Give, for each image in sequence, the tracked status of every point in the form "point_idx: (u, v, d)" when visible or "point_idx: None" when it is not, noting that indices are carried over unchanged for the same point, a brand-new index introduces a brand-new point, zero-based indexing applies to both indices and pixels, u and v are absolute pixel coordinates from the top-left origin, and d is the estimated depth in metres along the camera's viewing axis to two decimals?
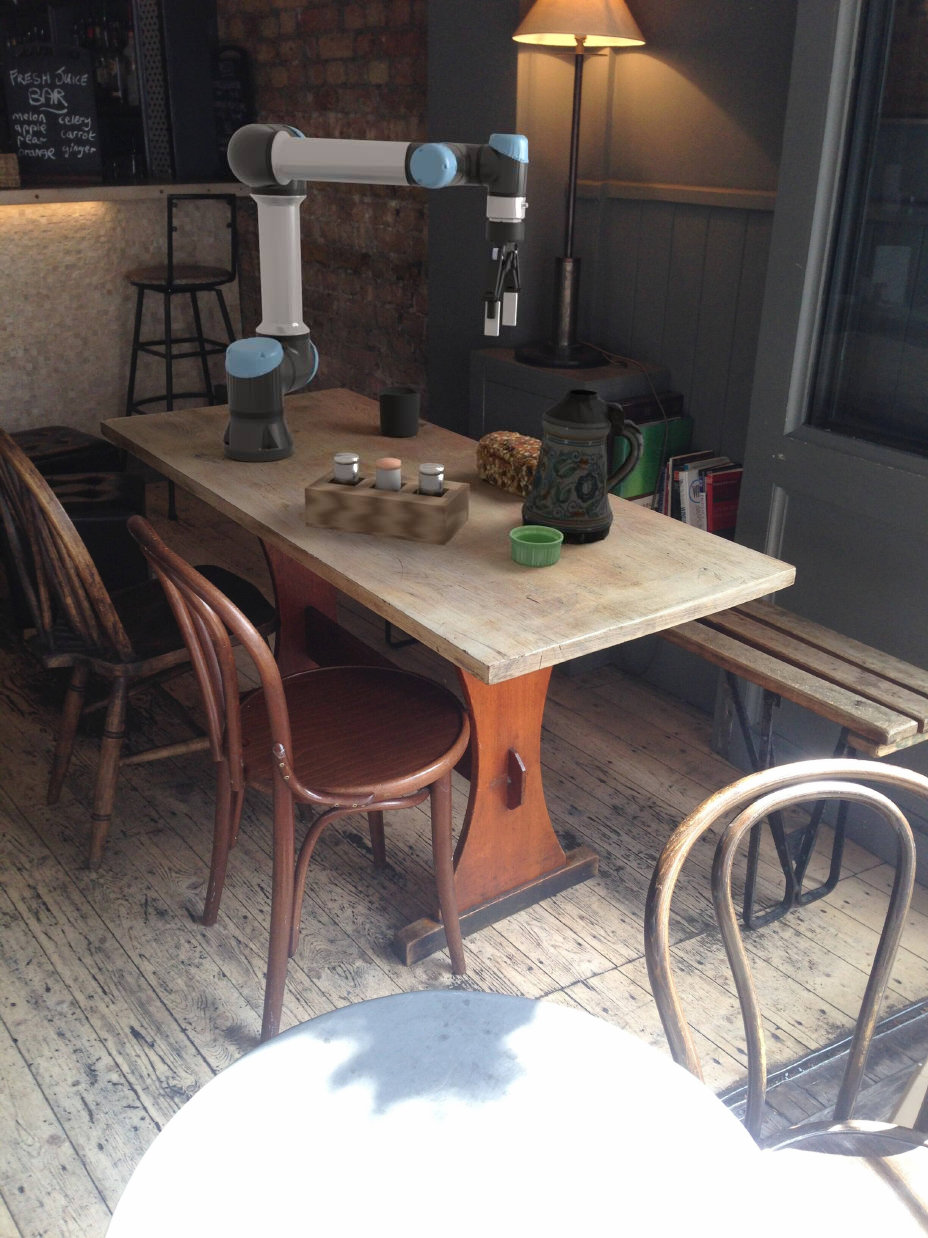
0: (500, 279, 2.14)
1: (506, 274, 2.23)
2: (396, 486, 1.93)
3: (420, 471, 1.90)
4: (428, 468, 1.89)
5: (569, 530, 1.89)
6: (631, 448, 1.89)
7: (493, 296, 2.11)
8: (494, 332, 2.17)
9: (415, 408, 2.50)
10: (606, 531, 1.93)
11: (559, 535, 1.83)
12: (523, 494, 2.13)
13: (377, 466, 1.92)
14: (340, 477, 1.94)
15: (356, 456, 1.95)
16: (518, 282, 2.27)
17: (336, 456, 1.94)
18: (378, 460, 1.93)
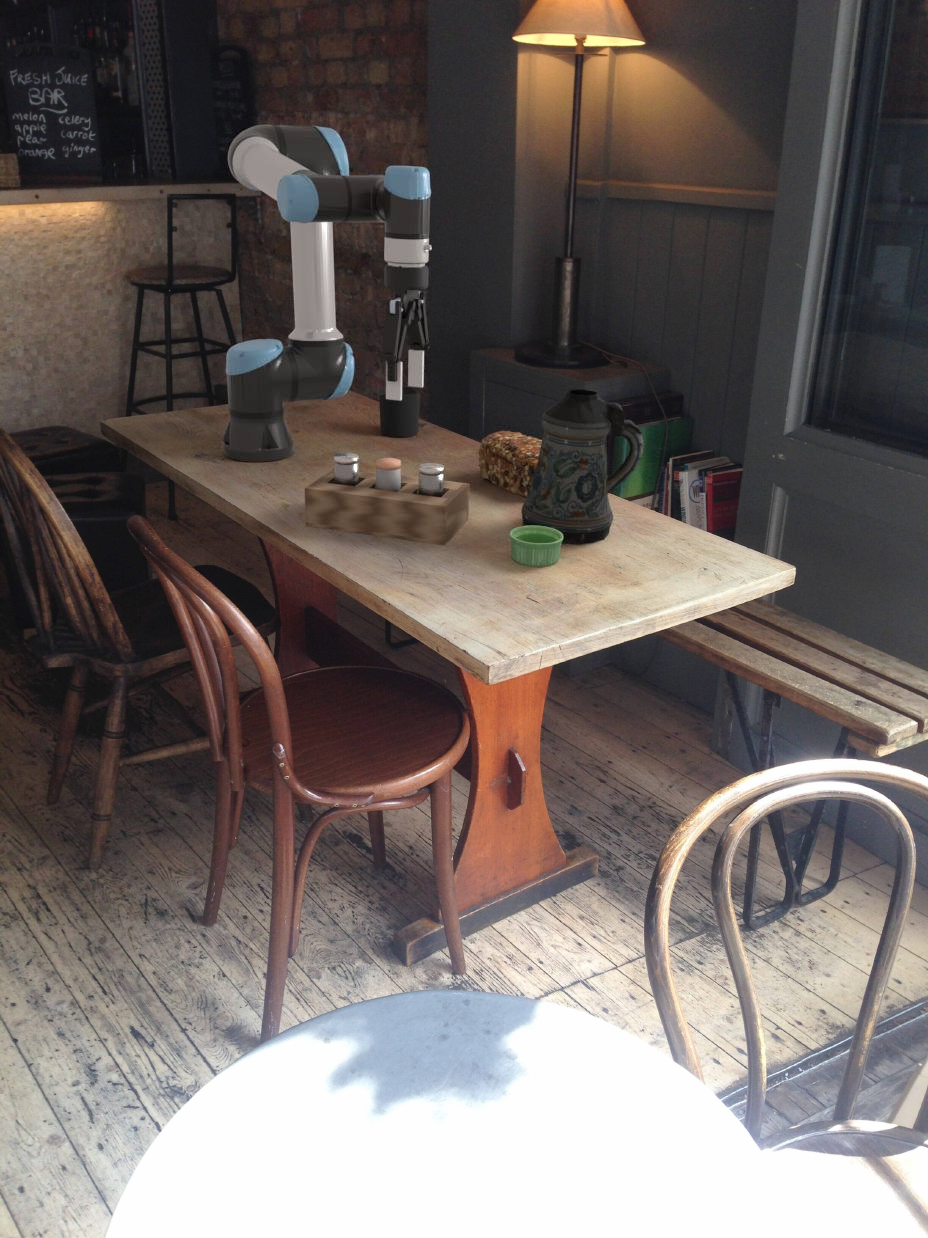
0: (401, 335, 1.86)
1: (410, 327, 1.94)
2: (396, 486, 1.93)
3: (420, 471, 1.90)
4: (428, 468, 1.89)
5: (569, 530, 1.89)
6: (631, 448, 1.89)
7: (392, 357, 1.84)
8: (397, 396, 1.90)
9: (415, 408, 2.50)
10: (606, 531, 1.93)
11: (559, 535, 1.83)
12: (525, 494, 2.13)
13: (377, 466, 1.92)
14: (340, 477, 1.94)
15: (356, 456, 1.95)
16: (425, 337, 1.98)
17: (336, 456, 1.94)
18: (378, 460, 1.93)
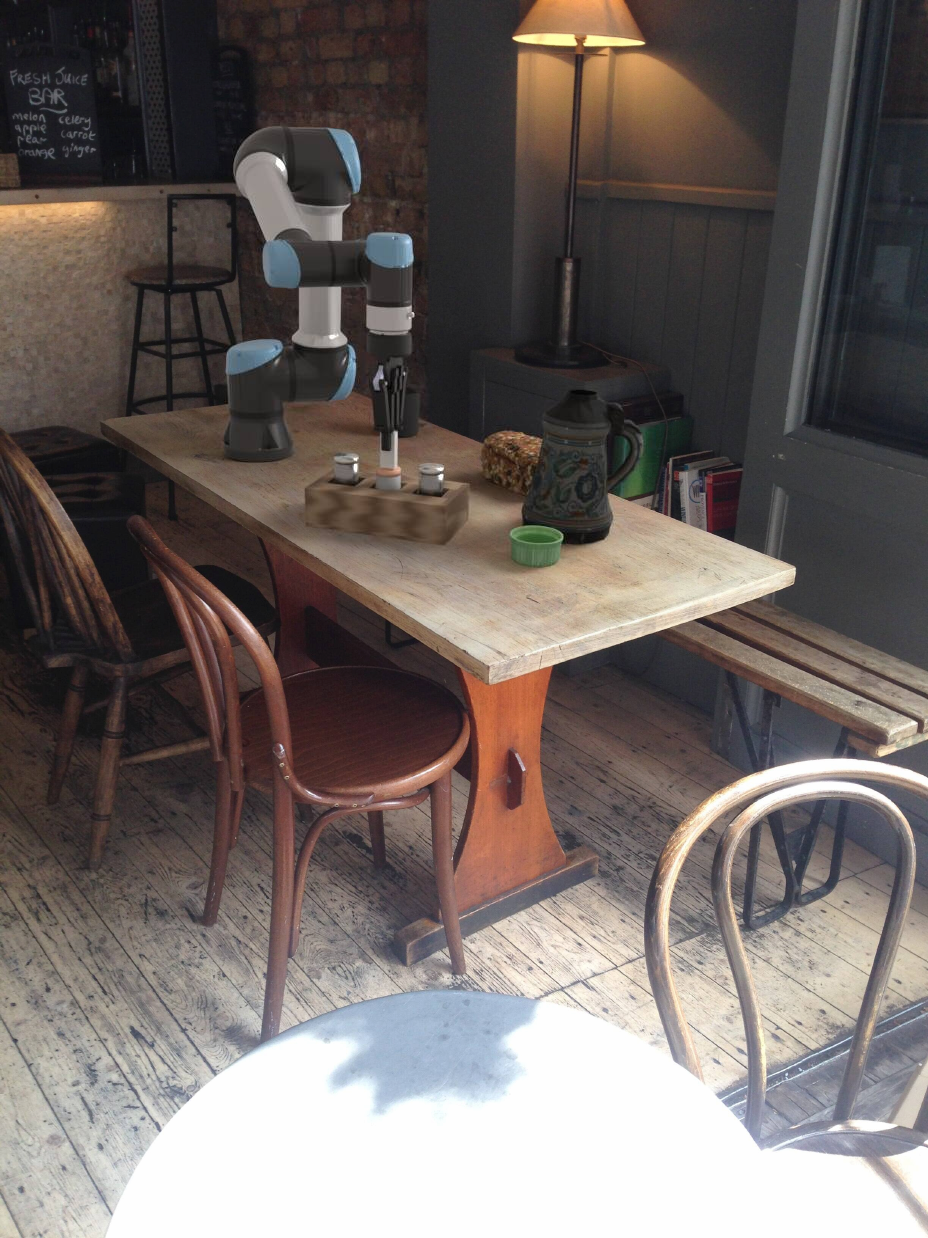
0: (390, 407, 1.86)
1: None
2: None
3: (420, 471, 1.90)
4: (428, 468, 1.89)
5: (569, 530, 1.89)
6: (631, 448, 1.89)
7: (386, 430, 1.86)
8: (390, 465, 1.92)
9: (415, 408, 2.50)
10: (606, 531, 1.93)
11: (559, 535, 1.83)
12: None
13: (377, 473, 1.92)
14: (340, 477, 1.94)
15: (356, 456, 1.95)
16: (400, 414, 1.91)
17: (336, 456, 1.94)
18: (378, 467, 1.93)
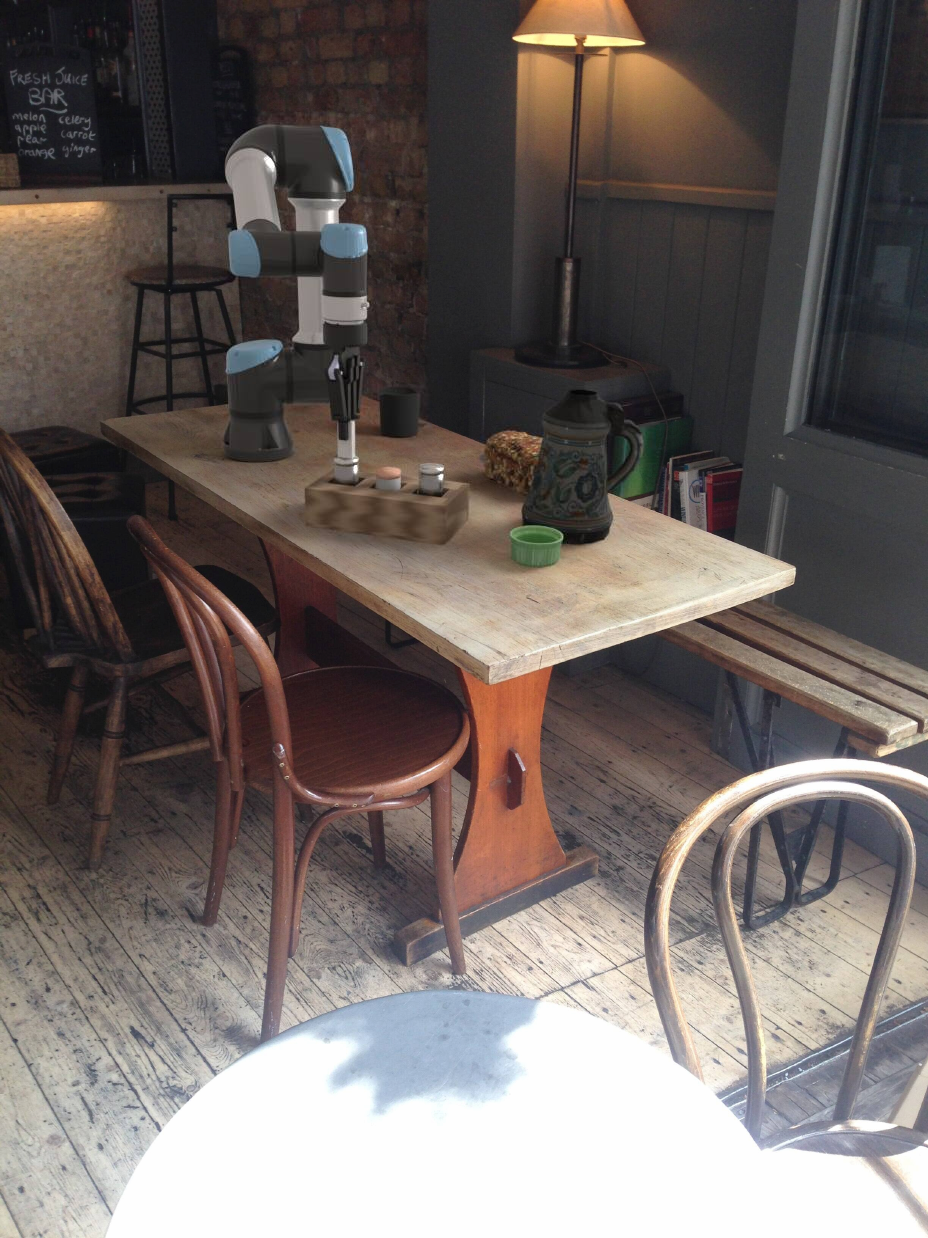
0: (347, 396, 1.88)
1: None
2: None
3: (420, 471, 1.90)
4: (428, 468, 1.89)
5: (569, 530, 1.89)
6: (631, 448, 1.89)
7: (343, 419, 1.88)
8: (348, 454, 1.93)
9: (415, 408, 2.50)
10: (606, 531, 1.93)
11: (559, 535, 1.83)
12: None
13: (377, 475, 1.92)
14: (340, 478, 1.94)
15: (356, 458, 1.95)
16: (357, 403, 1.93)
17: (336, 458, 1.94)
18: (378, 469, 1.93)
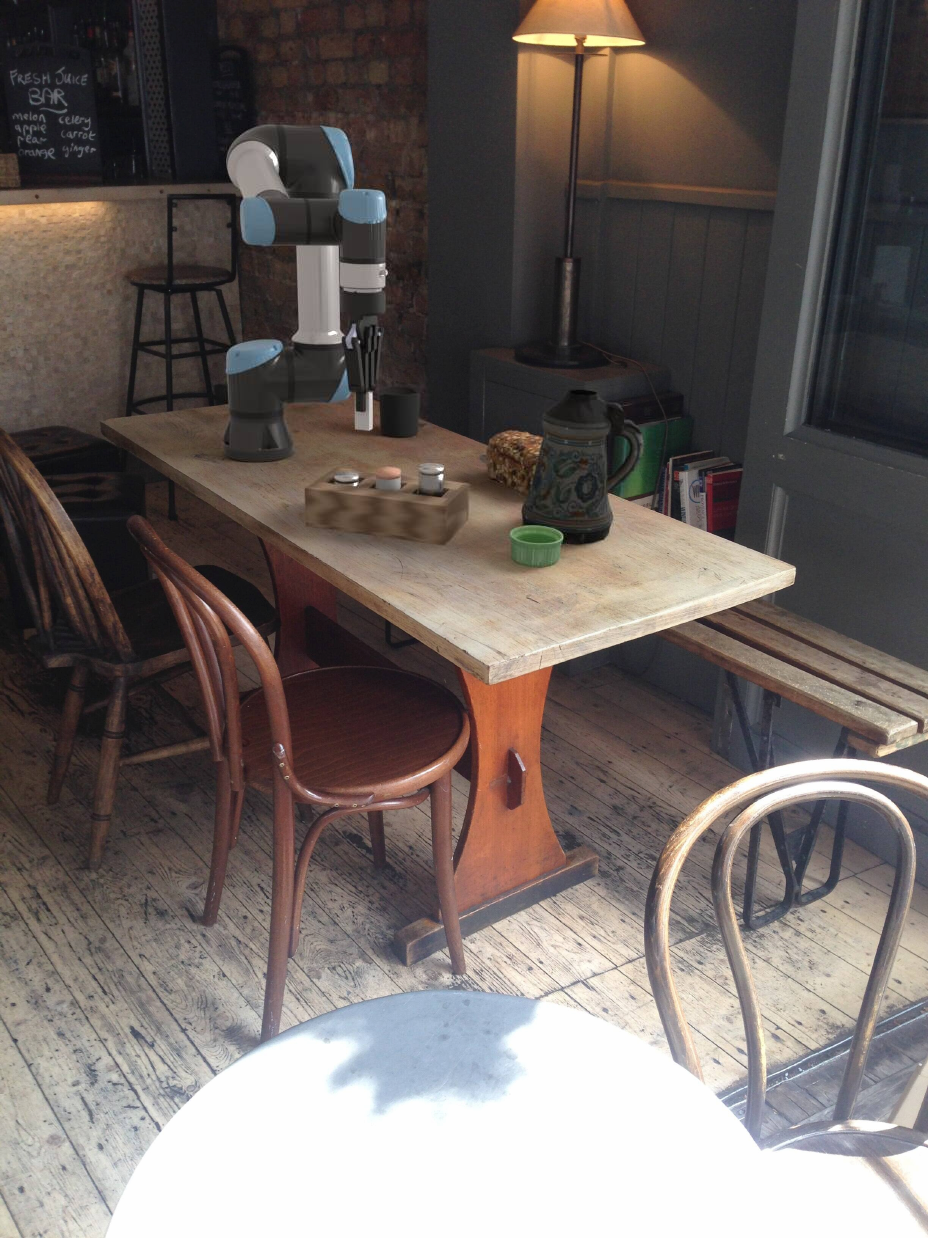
0: (364, 366, 1.85)
1: None
2: None
3: (420, 471, 1.90)
4: (428, 468, 1.89)
5: (569, 530, 1.89)
6: (631, 448, 1.89)
7: (360, 390, 1.85)
8: (365, 426, 1.90)
9: (415, 408, 2.50)
10: (606, 531, 1.93)
11: (559, 535, 1.83)
12: None
13: (377, 475, 1.92)
14: None
15: (356, 475, 1.96)
16: (375, 375, 1.90)
17: (336, 475, 1.96)
18: (378, 469, 1.93)
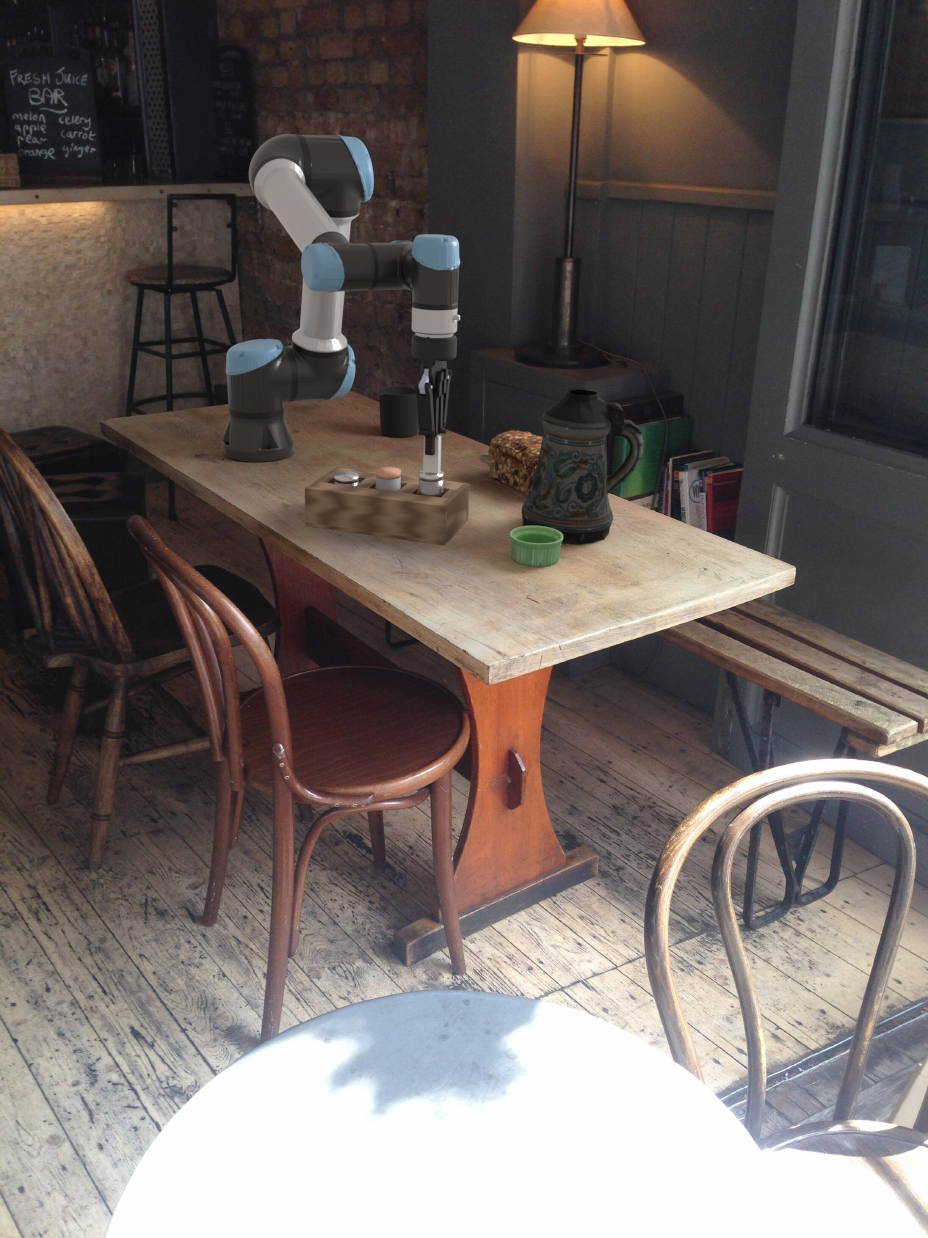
0: (435, 410, 1.84)
1: None
2: None
3: (420, 477, 1.90)
4: (428, 474, 1.90)
5: (569, 530, 1.89)
6: (631, 448, 1.89)
7: (431, 434, 1.84)
8: (434, 469, 1.90)
9: (415, 408, 2.50)
10: (606, 531, 1.93)
11: (559, 535, 1.83)
12: None
13: (377, 475, 1.92)
14: None
15: (356, 475, 1.96)
16: (444, 417, 1.89)
17: (336, 475, 1.96)
18: (378, 469, 1.93)
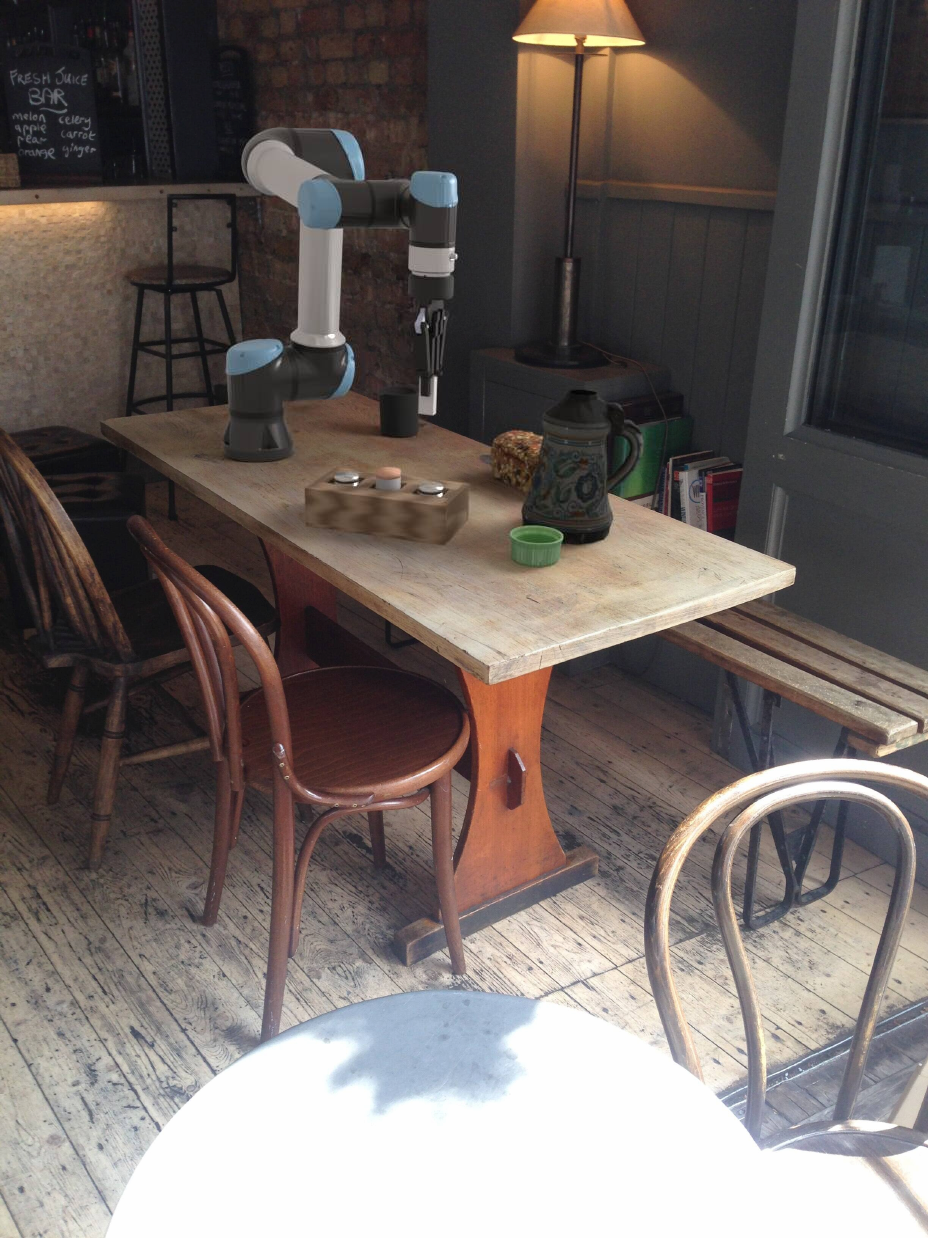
0: (431, 351, 1.84)
1: None
2: None
3: (420, 490, 1.91)
4: (428, 487, 1.91)
5: (569, 530, 1.89)
6: (631, 448, 1.89)
7: (426, 375, 1.84)
8: (429, 411, 1.89)
9: (415, 408, 2.50)
10: (606, 531, 1.93)
11: (559, 535, 1.83)
12: None
13: (377, 475, 1.92)
14: None
15: (356, 475, 1.96)
16: (440, 359, 1.89)
17: (336, 475, 1.96)
18: (378, 469, 1.93)
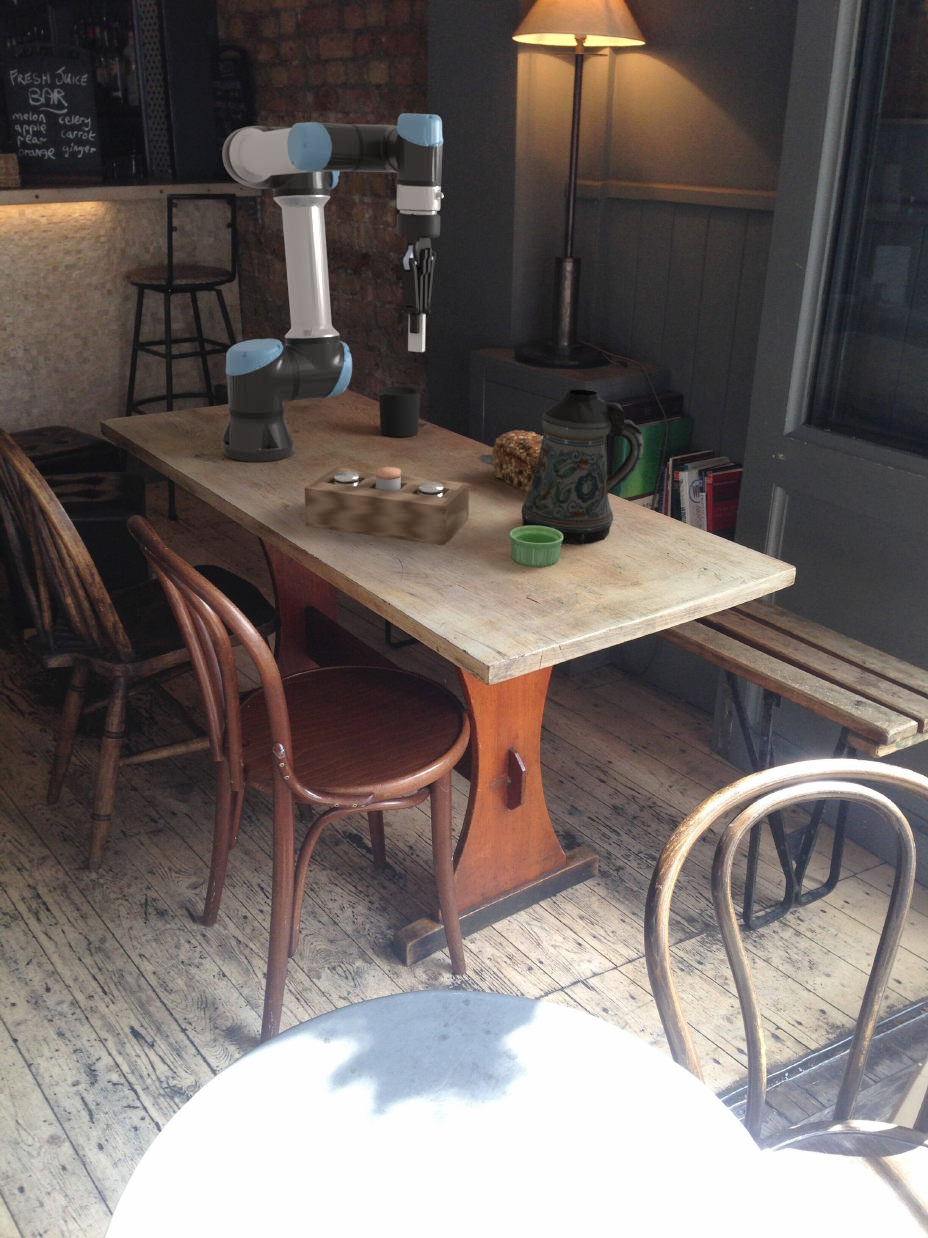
0: (419, 288, 1.91)
1: None
2: None
3: (420, 490, 1.91)
4: (428, 487, 1.91)
5: (569, 530, 1.89)
6: (631, 448, 1.89)
7: (415, 311, 1.91)
8: (418, 348, 1.97)
9: (415, 408, 2.50)
10: (606, 531, 1.93)
11: (559, 535, 1.83)
12: None
13: (377, 475, 1.92)
14: None
15: (356, 475, 1.96)
16: (428, 298, 1.96)
17: (336, 475, 1.96)
18: (378, 469, 1.93)
